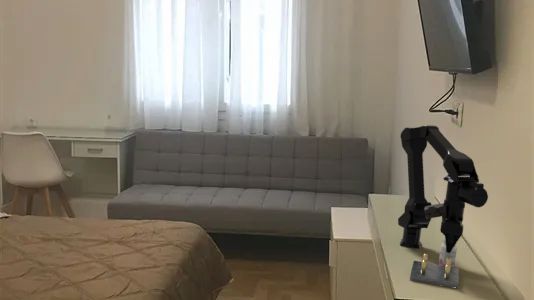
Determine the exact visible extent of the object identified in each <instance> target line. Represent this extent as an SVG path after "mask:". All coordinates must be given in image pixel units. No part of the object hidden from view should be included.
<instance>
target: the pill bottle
mask: <svg viewBox="0 0 534 300" xmlns="http://www.w3.org/2000/svg"><path fill="white" fill-rule="evenodd" d="M442 238H443V239H442V243H441V245H440V251H439V257H438V265H442V266H446V260H447V258H451V263H450V266H451V267H453V268H455V265H456V260H457V259H456V258H457V251H458V246H457V243H456V244H455V246H454V248H453V249H452V251H451V252H450V253H447V252H446V240H445V236H444V237H442Z"/></svg>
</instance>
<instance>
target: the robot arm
mask: <svg viewBox="0 0 534 300" xmlns="http://www.w3.org/2000/svg"><path fill="white" fill-rule="evenodd" d="M400 140H401V147H402V149H403V150H404V152H405V153H406V155H407V178H408V180H407V181H408V199H407V201H406V203H405V205H404V212H403V213H402V214H401V215H400V216H399V217H398V218H397V224H398V226H400V227H402V228H403V230H402V232H403V233H402V238H401V239H400V243H399V246H404V247H409V248H415V249H421V244H422V242H421V235H422V234H421V233H422V229H428V227H429V225H430V222H431V221H432V219H433V218H434V219H435V218H439V217H441V222H440V223H441V224H440V233H441V234H442V235H444V237H445V240H446V252H447V253H450V252H451V251H452V249H453V248H454V246H455V244H456V245H457V243H458V241H459V240H460V238H461V237H462V236H463V234H464V224H463V221H464V213H465V207H466V204H468V205H470V206H472V207H475V208H482V207H484V205H486V204H487V202H488V199H489V194H488V191H487V190H486V189H485V188H484V187H485V185H484V183H482V182H480V179H479V175H478V173H477V171H476V166H475V163H474V160H473V159H472V158H471V157H469V155H467V154H465V153H464V152H461V151H459V150H457V149H456V148H455V146H453V144H452V143H451V142H450V141H449V140H448V139H447V138H446V137H445V136H444V134H443V133H442V132H441V131H440V129H439V127H438V126H436V125H429V124H428V125H426V124H424V125H421V126H417V127H405V128H404V129H402V131H401V132H400ZM428 144H429V145H430V146H431V147H432V148H433V150H434V151H435V153H437V154H438V156H439V157H440V159H441V160H442V162H443V163H442V167H443V169H445V170H444V171H445V172H446V173H447V175H446V176H445V177H443V181H446V182H447V185H446V191H445V192H446V193H445V199H443V203H437V204H436V203H435V204H432V203H431V202H430V201H428V200H427V199H426V196H425V178H424V177H425V175H424V158H423V157H424V155H423V154H424V152H425V150H426V148H428V147H427V146H428Z"/></svg>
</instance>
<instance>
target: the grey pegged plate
mask: <svg viewBox="0 0 534 300" xmlns="http://www.w3.org/2000/svg"><path fill="white" fill-rule="evenodd" d="M428 257H429V255H428V253H424V254H423V258H422V261H418V260H413V262H412V263H413V264H412V267H411V271H410V276H409V280H410V281H414V282H421V283H426V284H430V285H435V284H436V286H440V285H442V286H441V287H446V288H451V287H456V288H458V289H459V284H460V282H459V281H460V279H459V278H460V268H459V267H451V266H450V263H451V258H447V260H446V266H442V265H439V264H436V263H430V262H428ZM456 288H455V289H456Z"/></svg>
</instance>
